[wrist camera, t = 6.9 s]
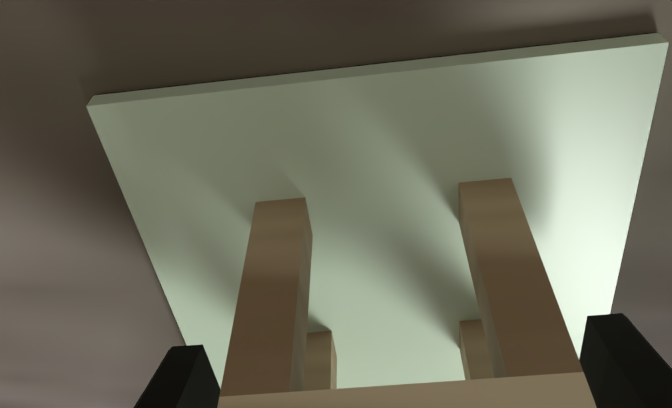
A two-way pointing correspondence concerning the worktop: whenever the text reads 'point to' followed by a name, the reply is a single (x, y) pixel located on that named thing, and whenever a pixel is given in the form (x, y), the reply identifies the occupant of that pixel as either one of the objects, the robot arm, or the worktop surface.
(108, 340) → the worktop surface
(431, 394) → the stool
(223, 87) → the mat
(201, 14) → the worktop surface
